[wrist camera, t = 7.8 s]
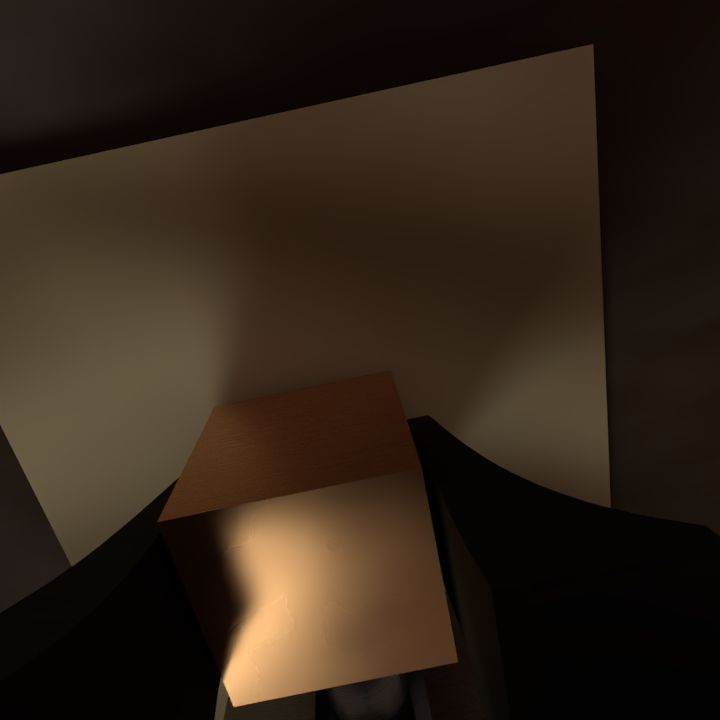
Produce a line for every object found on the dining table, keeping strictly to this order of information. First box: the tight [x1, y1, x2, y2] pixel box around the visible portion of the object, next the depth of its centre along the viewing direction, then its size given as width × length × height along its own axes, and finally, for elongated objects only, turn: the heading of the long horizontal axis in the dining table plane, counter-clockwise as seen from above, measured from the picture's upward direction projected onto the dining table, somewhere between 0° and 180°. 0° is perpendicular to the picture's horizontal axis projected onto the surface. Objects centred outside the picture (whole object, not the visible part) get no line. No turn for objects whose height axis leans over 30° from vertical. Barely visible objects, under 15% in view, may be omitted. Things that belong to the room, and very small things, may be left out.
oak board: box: [0, 44, 611, 720], centre depth 14 cm, size 20×14×1 cm
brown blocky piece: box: [157, 370, 458, 720], centre depth 12 cm, size 12×4×4 cm, turn 12°
